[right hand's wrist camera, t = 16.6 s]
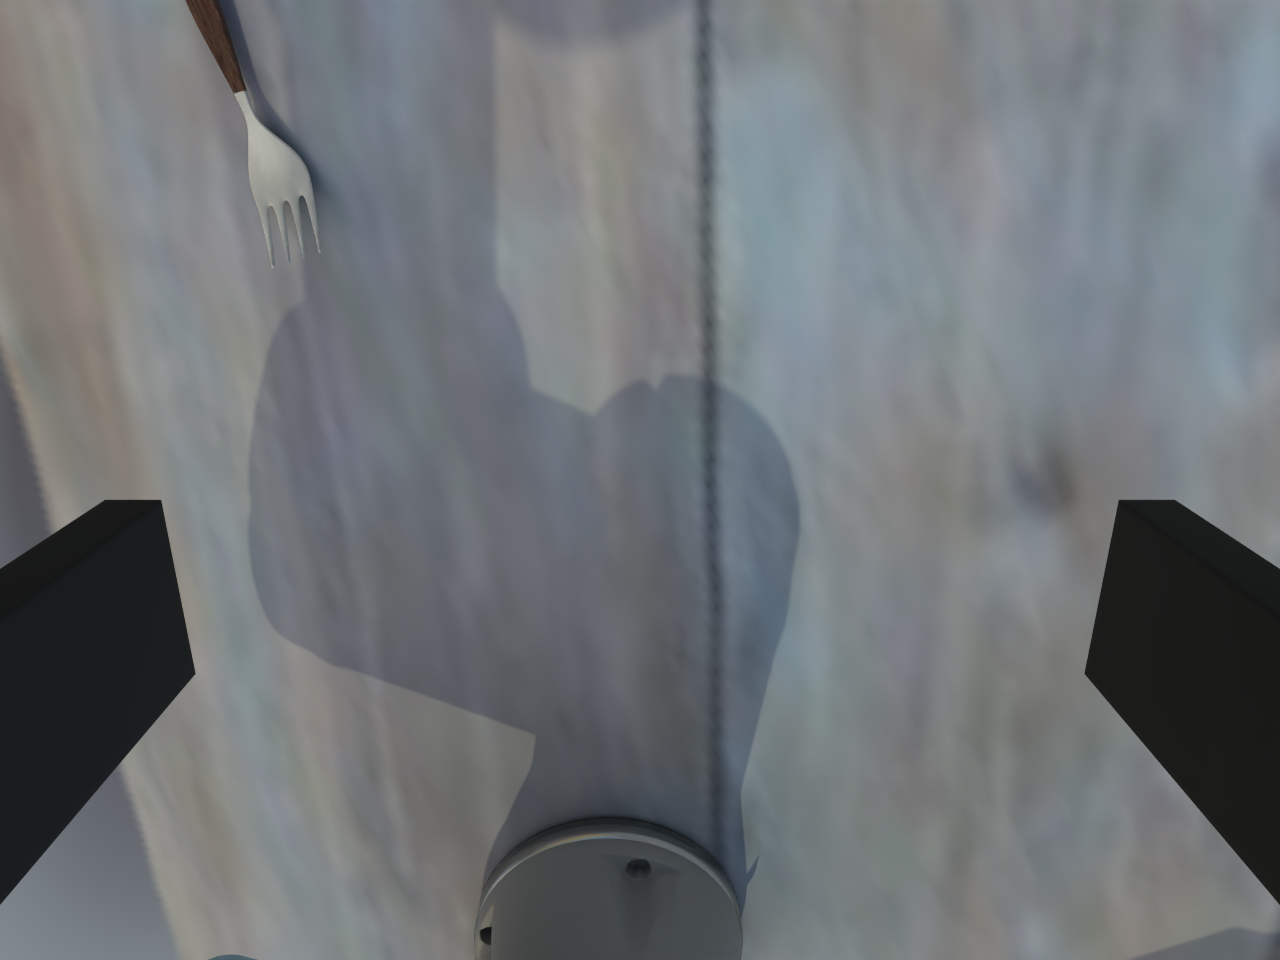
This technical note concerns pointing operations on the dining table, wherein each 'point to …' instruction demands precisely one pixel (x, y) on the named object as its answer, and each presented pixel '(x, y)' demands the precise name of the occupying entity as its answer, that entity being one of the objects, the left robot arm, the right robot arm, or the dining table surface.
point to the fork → (260, 139)
